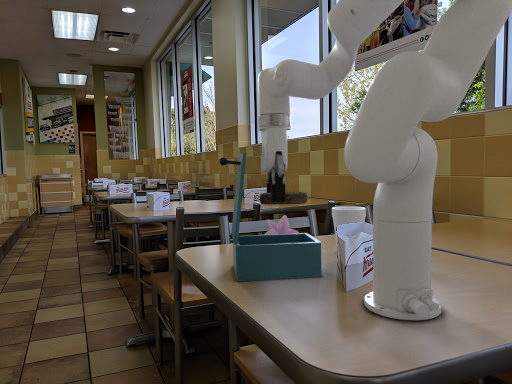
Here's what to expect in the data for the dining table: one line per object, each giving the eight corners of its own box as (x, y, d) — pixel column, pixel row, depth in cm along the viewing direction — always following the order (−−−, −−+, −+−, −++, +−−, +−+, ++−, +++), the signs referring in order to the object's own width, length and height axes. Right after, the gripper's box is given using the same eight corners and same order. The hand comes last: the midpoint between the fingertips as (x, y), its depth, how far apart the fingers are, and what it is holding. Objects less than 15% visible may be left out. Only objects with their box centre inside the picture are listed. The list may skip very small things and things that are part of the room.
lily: (256, 255, 112) (266, 229, 108) (257, 234, 123) (266, 209, 118) (294, 266, 113) (306, 241, 109) (292, 244, 124) (302, 220, 120)
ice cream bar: (307, 204, 86) (307, 192, 85) (242, 204, 88) (242, 193, 88) (308, 202, 91) (308, 190, 91) (247, 202, 94) (247, 191, 93)
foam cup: (326, 251, 112) (326, 207, 111) (353, 248, 114) (353, 205, 114) (343, 258, 103) (343, 210, 102) (372, 255, 105) (372, 208, 105)
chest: (307, 262, 98) (307, 232, 98) (321, 276, 86) (321, 242, 85) (233, 266, 96) (232, 236, 96) (236, 281, 84) (235, 246, 83)
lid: (242, 155, 95) (219, 153, 94) (246, 153, 82) (220, 150, 81) (234, 234, 96) (212, 232, 95) (237, 244, 83) (212, 242, 82)
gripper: (254, 127, 96) (255, 197, 98) (263, 119, 79) (265, 204, 80) (283, 127, 97) (284, 197, 98) (298, 119, 80) (299, 203, 81)
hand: (275, 199), depth 89 cm, fingers closed on ice cream bar, 6 cm apart
